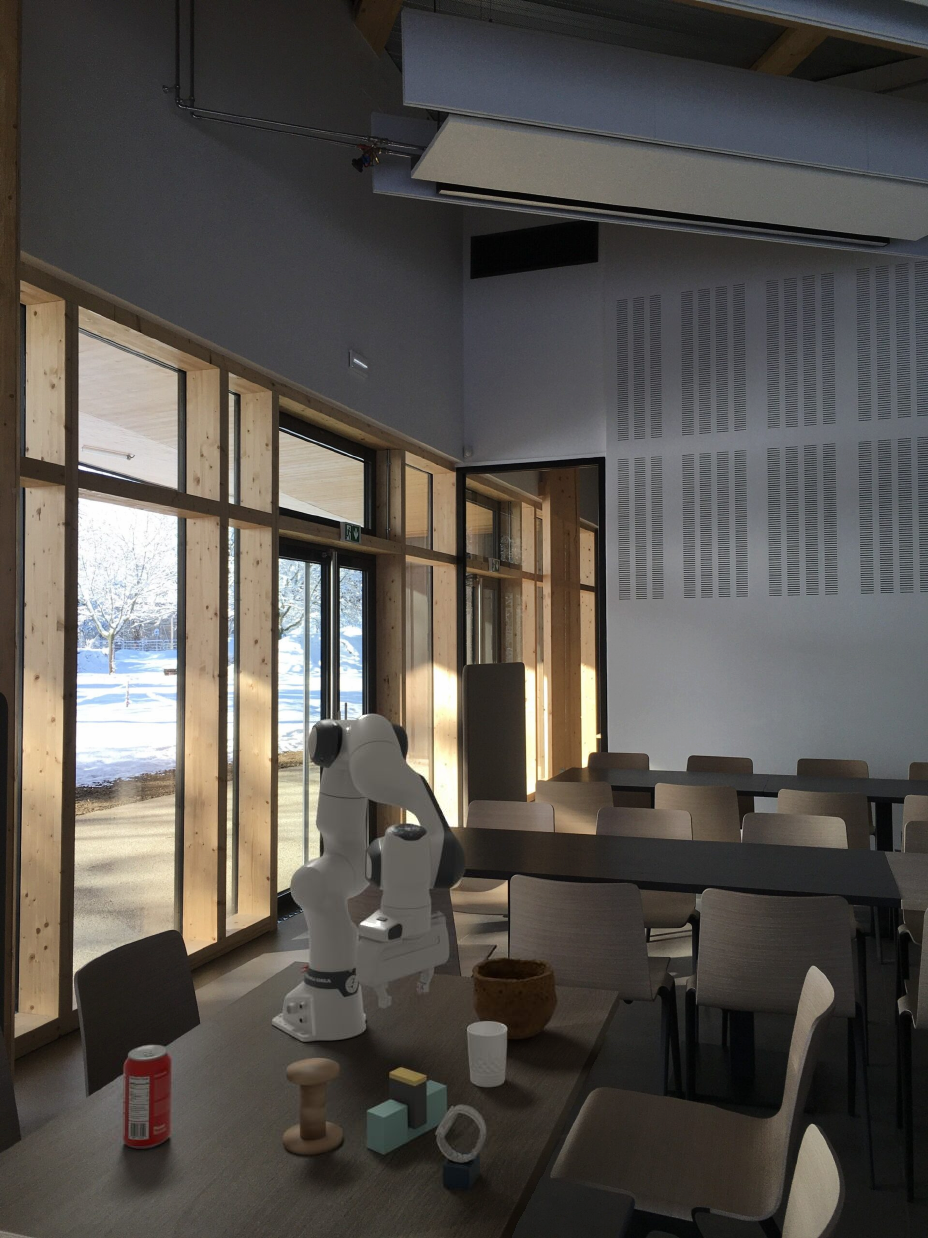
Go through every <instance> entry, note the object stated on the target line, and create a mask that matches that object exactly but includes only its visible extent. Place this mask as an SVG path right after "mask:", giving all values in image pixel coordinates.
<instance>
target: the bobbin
mask: <svg viewBox="0 0 928 1238" xmlns="http://www.w3.org/2000/svg"><path fill="white" fill-rule="evenodd" d="M285 1073H286V1075H285V1076H286V1079H287V1080H288V1081H289V1082H290V1083H292V1084H295V1085H299V1123H298V1124H297V1123H296V1124H294V1125H293V1126H291V1127H289V1128H288V1129H286V1131H284V1133H283V1136H282V1143H283V1147H284V1148H285V1149H286V1151H288V1152H291V1153H294V1154H297V1155H303V1156H305V1155H307V1156H308V1155H309V1156H310V1155H313V1156H314V1155H320V1154H323V1153H328V1152H330V1151H332V1150H335V1149H336V1148H338V1147H339V1146H340V1145H341V1144H342V1141H343V1130H342V1128H341V1127H340V1125H338V1124H336V1123H333V1122H330V1121H327V1120H326V1119H327V1084H328V1083H330V1082H332V1081H334V1080H335V1079H337V1078H338V1077H339V1076H340V1064H339V1063H338V1062H337V1061H335V1060H333V1059H330V1058H324V1057H323V1058H322V1057H321V1058H320V1057H312V1058H305V1059H301V1060H297V1061H295V1062H292V1063H291V1064H289V1065H287V1068H286V1072H285Z"/></svg>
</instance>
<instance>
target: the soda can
mask: <svg viewBox="0 0 928 1238" xmlns="http://www.w3.org/2000/svg"><path fill="white" fill-rule="evenodd" d="M168 1050H169V1049H168V1048H167V1047H166V1046H165V1045H161V1044H147V1045H142V1046H138V1047H135V1048H133V1049H132V1050H130V1051H129V1052H128V1053H127V1058H126V1059H125V1061H124V1063H123V1076H122V1078H123V1082H122V1083H123V1084H122V1086H123V1087H122V1088H123V1090H122V1091H123V1093H122V1095H123V1096H122V1100H123V1101H122V1142H123V1143H124V1144H125V1145H126V1146H127V1147H131V1148H133V1149H136V1150H137V1149H138V1150H147V1149H151V1148H155V1147H157V1146H159V1145H161V1144H162V1143H164V1142H165V1141H166V1140H168V1138H169V1137H170V1136H171V1133H172V1067H173V1066H172V1061H173V1060H172V1057H171V1055H170V1054H169V1052H168Z"/></svg>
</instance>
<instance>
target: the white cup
mask: <svg viewBox="0 0 928 1238" xmlns="http://www.w3.org/2000/svg"><path fill="white" fill-rule="evenodd" d="M466 1030H467V1031H466V1033H467V1053H468V1064H469V1076H470V1077H469V1078H470V1079H469V1080H470V1082H471V1083H472V1084H473V1085H475V1086H477V1087H482V1088H493V1087H498V1086H499V1087H500V1086H501V1085H503V1084H504V1082H505V1080H506V1067H507V1053H508V1052H507V1051H508V1049H507V1048H508V1039H507V1027H506V1026H505V1025H504V1024H501V1023H498V1022H491V1021H483V1022H481V1021H477V1022H474V1023H470V1024H469V1025H468V1026H467V1028H466Z"/></svg>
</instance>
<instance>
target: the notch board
mask: <svg viewBox="0 0 928 1238" xmlns="http://www.w3.org/2000/svg"><path fill="white" fill-rule="evenodd" d="M447 1089H448V1087H447V1085H446V1084H443V1083H440V1082H436V1081H434V1080H431V1079H429V1080H427V1123H426V1124H424V1125H423V1126H421V1127H419V1128H417V1129H412V1128H410V1127H408V1118H407V1105H405V1104H402V1103H399V1102H397V1101H394V1100H391V1099H390V1100H389V1099H388V1100H385V1101H384V1102H381V1103H380V1104H377V1105H376V1106H374V1107H372V1108H369V1109H367V1110H366V1148H367V1149H369V1150H372V1151H374V1152H377V1153H378V1154H381V1155H386V1154H388V1153H390V1152H392V1151H393V1150H396V1149H397V1148H399V1147H401V1146H403V1145H405V1144H407V1143H408V1142H410V1141H413V1139H416V1138H417V1137H420V1136H422V1135H423V1134H425V1133H426V1132H429V1131H431V1130H432V1129H434V1128H435V1127H438V1126H439V1124H440V1123H441V1121H442V1119H443V1118H444V1116H445V1115H446V1113H447V1112H448V1097H447V1096H448V1093H447V1091H448V1090H447Z"/></svg>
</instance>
